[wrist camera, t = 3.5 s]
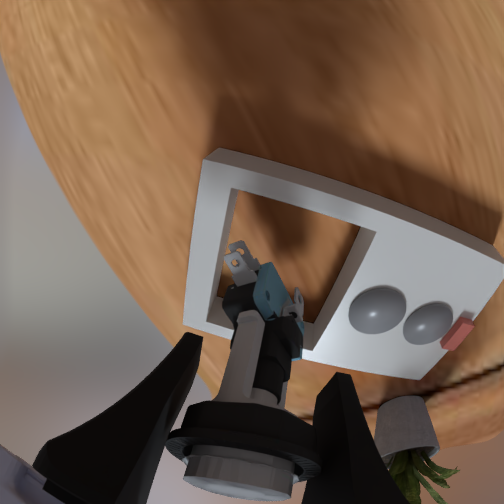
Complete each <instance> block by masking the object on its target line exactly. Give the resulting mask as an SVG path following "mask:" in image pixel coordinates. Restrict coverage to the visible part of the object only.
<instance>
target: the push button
mask: <svg viewBox="0 0 504 504" xmlns="http://www.w3.org/2000/svg"><path fill="white" fill-rule="evenodd" d="M238 248H241V249H243V250H244V252H245V253H244V254H243V255H241V253H240V252H238V251H236V249H238ZM229 249H230V251H231V253H230V254H227V255H224V260H225V262H226V263H227V265H228V267H229V268H230V270H231V272H232V273H233V276H232V279H233V280H234V282H235V284H234V285H230V286H228V288H227V290H226V293H225V296H224V298H223V301H222V308H223V310H224V312H225V314H226V315H227V316H228V318H229V319H230V321H231V322H232V324H233V327H234V332H233V336H232V339H231V345H230V349H231V352H230V356H229V359H228V362H227V366H226V369H225V373H224V376H223V380H222V383H221V387H220V390H219V393H218V395H217V396H216V397H215V398H214V399H213V400H212V401H203V402H200V403H196V404H193V405H190V406H189V407H188V408H187V411H186V414H185V417H184V419H183V422H182V425H181V428H180V429H175V430H173V431H171V432H170V433H169V434H168V437H167V440H166V443H165V446H166V448H167V450H168V451H169V452H170V453H171V454H172V455H174V456H175V457H176V458H178V459H179V460H181V461H183V462H184V463H185V464H186V465H187V468H186V471H185V474H184V478H183V480H185V481H186V482H188V483H189V484H191V485H193V486H195V487H198V488H201V489H204V490H206V491H209V492H212V493H216V494H220V495H224V496H228V497H233V498H240V499H246V500H256V501H283V500H286V499H290V498H291V493H292V486H293V484H295V483H297V482H301V481H306V480H309V479H312V478H315V477H317V476H318V475H319V474H320V473H321V471H322V459H321V457H320V456H319V455H318V454H317V453H316V451H317V433H316V429H315V427H314V426H312V425H310V424H308V423H306V422H305V421H303V420H301V419H299V418H298V417H297V416H296V415H294V414H292V413H291V412H289V411H287V410H286V409H284V407H285V399H286V391H287V382H288V380H289V379H290V372H291V362H292V361H295V360H300V359H302V351H303V336H304V323H303V318H302V316H303V312H304V301H303V297H302V295H301V293H300V291H299V289H298V288H297V287H295V294H294V302H295V304H293V302H292V300H291V298H290V296H289V294H288V292H287V290H286V288H285V286H284V284H283V282H282V280H281V278H280V277H279V275H278V273H277V271H276V269H275V267H274V265H273V263H272V262H269V263H265V264H262V265H260V263H259V262H258V260H257V258H255V259H253V257H252V255H251V253H250V251H249V250H248V248H247V246H246V244H245V242H244V241H242V240H241V241H238V242H235V243H232V244H229ZM234 259H235V260H236V261H237V263H238V264H236V266H234V265H233V264H232V260H234ZM298 297H299V299H300V303H299V299H298Z"/></svg>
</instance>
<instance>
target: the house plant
mask: <svg viewBox="0 0 504 504" xmlns="http://www.w3.org/2000/svg"><path fill="white" fill-rule="evenodd" d="M374 442H375V445H376V447H377V449H378V451H379V454H380V456H381V458H382V460H383V462H384V464H385V466H386V467H387V469H389V473H390V475H391V476H392V478H393V480H394V481H395V483H396V484H397V486H398V487H399V489H400V490H401V492H402V494H403V495H404V496H405V498H406V499H407V500H408V502H409V503H410V504H421V499H420V496H419V495H420V483H421V484H422V485H423V486H424V487H425V488H426V489H427V491H428V492H429V493H430V495H431V496H432V497H433V498H434V500H435V501H436V502H437V503H439V504H447V503H446V502H445V501H444V500H443V499H442V498H441V497H440V495H439V494H438V493H437V492H436V491H435V490H434V489H433V488H432V487H431V486H430V484H429V483H428V482H427V481H426V480H425V479H424V477H423V476H422V475H421V474H423V475H424V476H427V477H429V478H430V479H431V480H432V481H433V482H435V483H436V484H438V485H440V486H441V487H443V488H450V486H449V485H447V482H446V480H444V479H446V478H448V477H450V476H451V475H452V474H455V473H457V472H458V471H460V470H456V469H457V468H456V469H455V470H451V469H446V468H442V467H440V466H437V465H436V464H435V463H434V462H432V461H431V460H430V458H431V457H432V456H434V455H435V454H437V453H438V452H439V449H440V446H439V443H438V440H437V437H436V434H435V431H434V428H433V425H432V422H431V419H430V416H429V414H428V411H427V408H426V405H425V402H424V400H423V398H422V397H420V396H402V397H398V398H395V399H392V400H390V401H388V402H386V403H384V404H383V405H381V407H380V408H379V409H378V413H377V421H376V429H375V436H374ZM423 461H425V462H426V463H427V465H428V466H429V467H430V468H429V467H428V466H427V465H426V464H425V463H424V462H423ZM418 470H419V472H420V473H421V474H420V473H419V472H418ZM433 470H434V471H435V472H437V473H439V474H442V475H440V476H439V475H437V474H436V473H435V472H434V471H433ZM419 482H420V483H419Z"/></svg>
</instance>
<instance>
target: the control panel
mask: <svg viewBox="0 0 504 504" xmlns="http://www.w3.org/2000/svg"><path fill="white" fill-rule="evenodd" d="M239 190H242V191H246V192H250V193H253V194H257V195H261V196H264V197H268V198H271V199H275V200H278V201H282V202H285V203H288V204H292V205H295V206H298V207H302V208H305V209H308V210H312V211H315V212H318V213H321V214H324V215H328V216H331V217H334V218H337V219H340V220H343V221H346V222H349V223H352V224H355V225H358V226H361V228H360V230H359V232H358V235H357V237H356V239H355V241H354V243H353V246H352V248H351V250H350V252H349V254H348V256H347V259H346V261H345V263H344V265H343V267H342V269H341V271H340V273H339V275H338V277H337V279H336V281H335V283H334V285H333V287H332V289H331V291H330V293H329V295H328V297H327V299H326V301H325V303H324V305H323V307H322V309H321V311H320V313H319V315H318V317H317V318H316V320H315V322H314V324H313V323H309V322H305V321H303V323H304V336H303V351H302V359H306V360H310V361H315V362H319V363H324V364H328V365H333V366H338V367H343V368H348V369H353V370H358V371H364V372H369V373H375V374H381V375H387V376H393V377H400V378H407V379H414V380H420V379H421V378H422V377H423V376H424V375H425V374H426V373H427V372H428V371H429V370H430V369H431V368H432V367H433V366H434V365H435V364H436V363H437V362H438V361H439V360H440V359H441V358H442V357H443V356H444V355H445V354H446V352H447V351H448V350H452V351H454V350H455V349H456V348H457V347H458V346H459V344H460V343H461V342H462V341H463V340H464V339H465V337H466V336H467V335H468V334H469V333H470V332H471V330H472V329H473V328H474V327H475V325H474V323H473V321H474V319H475V318H476V317H477V315H478V314H479V313H480V311H481V310H482V309H483V307H484V306H485V305H486V303H487V302H488V301H489V299H490V298H491V296H492V295H493V294H494V292H495V291H496V289H497V288H498V286H499V285H500V283H501V282H502V280H503V279H504V258H503V257H502V256H501V255H500V253H499V252H498V251H497V250H496V248H495V247H494V246H493V245H491V244H489V243H487V242H485V241H483V240H481V239H479V238H477V237H475V236H473V235H471V234H469V233H467V232H465V231H462V230H460V229H458V228H456V227H454V226H452V225H450V224H447V223H445V222H443V221H441V220H438V219H436V218H434V217H431V216H429V215H427V214H424V213H422V212H420V211H417V210H415V209H412V208H410V207H408V206H405V205H403V204H400V203H398V202H395V201H392V200H390V199H387V198H385V197H382V196H379V195H377V194H374V193H371V192H368V191H366V190H363V189H360V188H357V187H354V186H352V185H349V184H346V183H343V182H340V181H337V180H334V179H331V178H328V177H325V176H322V175H318V174H315V173H312V172H309V171H306V170H302V169H299V168H296V167H292V166H289V165H285V164H282V163H278V162H275V161H271V160H267V159H264V158H260V157H256V156H252V155H248V154H244V153H240V152H236V151H232V150H228V149H224V148H218V149H216V150H215V151H213V152H212V153H211V154H209V155H208V156H207V157H205V158H204V159H203V163H202V169H201V175H200V182H199V188H198V195H197V202H196V209H195V216H194V223H193V231H192V239H191V247H190V256H189V265H188V274H187V283H186V294H185V305H184V316H183V325H186V326H189V327H192V328H195V329H198V330H201V331H205V332H208V333H211V334H214V335H217V336H221V337H224V338H227V339H232V336H233V332H234V327H233V324H232V322H231V321H230V319H229V318H228V316H227V315H226V314H225V312H224V310H223V308H222V301H223V298H221V297H217V292H218V287H219V282H220V277H221V272H222V267H223V262H224V255H225V252H226V247H227V242H228V237H229V233H230V228H231V223H232V218H233V214H234V209H235V204H236V200H237V195H238V191H239Z"/></svg>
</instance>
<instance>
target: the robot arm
mask: <svg viewBox="0 0 504 504" xmlns="http://www.w3.org/2000/svg"><path fill="white" fill-rule="evenodd" d="M202 342H203V337H202V336H199V335H196V334H193V333H190V332H186V333H185V334H184V335H183V337H182V338H181V339H180V341H179V342H178V343H177V345H176V346H175V347H174V348H173V349H172V351H171V352H170V353H169V354H168V355H167V356H166V357H165V359H164V360H163V361H162V362H161V363H160V364H159V365H158V366H157V367H156V368H155V369H154V370H153V371H152V372H151V373H150V374H149V375H148V376H147V377H146V378H145V379H144V380H143V381H142V382H141V383H139V384H138V385H137V386H136V387H135V388H134V389H133V390H131V391H130V392H129V393H128V394H127V395H125V396H124V397H123V398H122V399H120V400H119V401H118V402H116V403H115V404H114V405H112V406H111V407H109V408H108V409H106V410H105V411H104V412H102V413H101V414H99V415H97V416H96V417H94V418H93V419H91V420H89V421H87V422H85V423H84V424H82V425H80V426H78V427H77V428H75V429H73V430H71V431H69V432H67V433H64V434H62V435H60V436H58V437H56V438H53V439H52V440H49V441H47V442H46V444H45V445H44V446H43V447H42V449H41V450H40V451H39V453H38V455H37V457H36V459H35V461H34V463H33V465H32V466H33V467H32V466H31V465H29V464H28V463H27V462H25V461H24V460H23V459H21V458H20V457H18V456H16V455H14V454H13V453H11V452H10V451H8V450H7V449H6V448H5V447H3V446H2V445H0V504H146V503H147V499H148V496H149V492H150V489H151V486H152V483H153V480H154V476H155V473H156V470H157V467H158V464H159V461H160V458H161V455H162V453H163V449H164V446H165V443H166V440H167V437H168V434H169V433H170V431H171V429H172V427H173V425H174V423H175V420H176V418H177V416H178V414H179V412H180V410H181V408H182V406H183V404H184V402H185V400H186V397H187V395H188V393H189V391H190V389H191V387H192V384H193V380H194V378H195V375H196V372H197V369H198V366H199V361H200V354H201V348H202ZM312 426H314V427H315V429H316V433H317V451H316V453H317V454H318V455H319V456H320V457H321V459H322V471H321V473H320V474H319V475H318V476H317V477H315V478H312V479H309V480H307V483H306V488H305V492H304V496H303V500H302V504H410V503H409V502H408V500H407V499H406V498H405V496H404V495H403V494H402V492H401V490H400V489H399V487H398V486H397V484H396V483H395V481H394V480H393V478H392V476H391V475H390V473H389V471H388V469H387V467H386V466H385V464H384V462H383V460H382V458H381V456H380V454H379V451H378V449H377V447H376V445H375V442H374V440H373V437H372V435H371V432H370V430H369V427H368V425H367V422H366V419H365V416H364V414H363V411H362V408H361V405H360V402H359V399H358V396H357V393H356V390H355V386H354V383H353V380H352V377H351V375H350V374H345V373H339V372H336V373H335V375H334V376H333V377H332V378H331V380H330V381H329V382H328V383H327V384H326V386H325V387H324V388H323V389H322V390H321V392H320V393H319V394H318V395H317V398H316V404H315V409H314V415H313V425H312Z"/></svg>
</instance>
